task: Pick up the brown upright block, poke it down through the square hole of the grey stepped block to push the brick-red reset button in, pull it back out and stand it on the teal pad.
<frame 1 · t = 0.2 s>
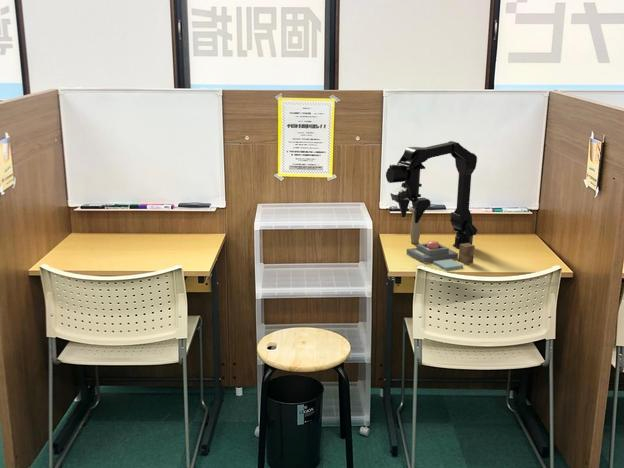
hand: (409, 220, 263), 14 cm above the table, tool pointing down, fingers open, 9 cm apart
button: (432, 246, 265), point 4 cm above the table, slide at 0.0 cm
grey stepped block: (431, 256, 266), on the table
brown upright block: (465, 262, 260), on the table
pad: (447, 265, 256), on the table
handle: (414, 243, 282), on the table
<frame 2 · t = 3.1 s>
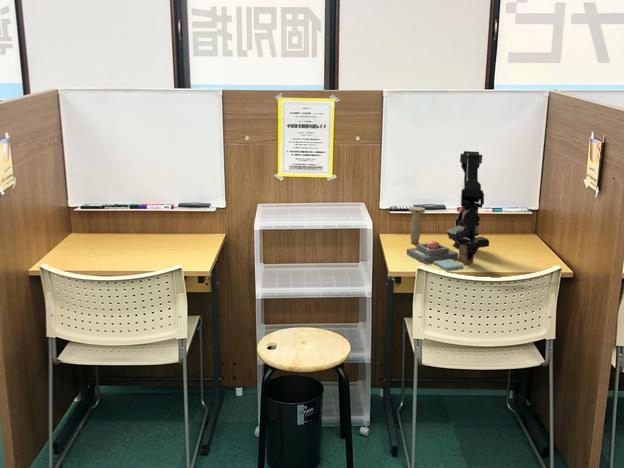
hand: (465, 258, 260), 2 cm above the table, tool pointing down, fingers closed on brown upright block, 4 cm apart
brown upright block: (465, 262, 260), on the table, touching gripper
everything else where it was.
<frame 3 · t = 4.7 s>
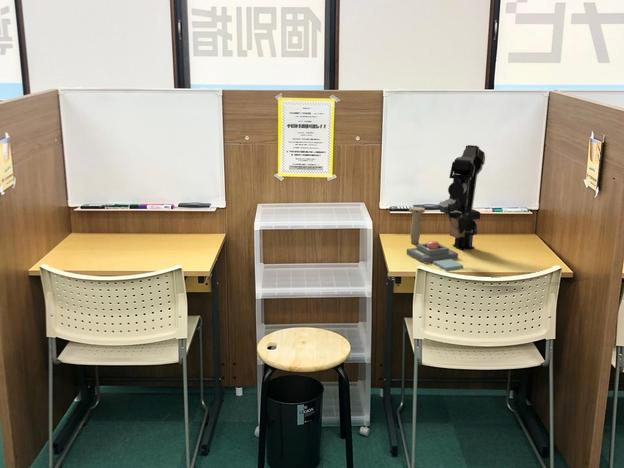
hand: (457, 232, 259), 11 cm above the table, tool pointing down, fingers closed on brown upright block, 4 cm apart
brown upright block: (456, 235, 259), point 10 cm above the table, touching gripper
everything else where it was.
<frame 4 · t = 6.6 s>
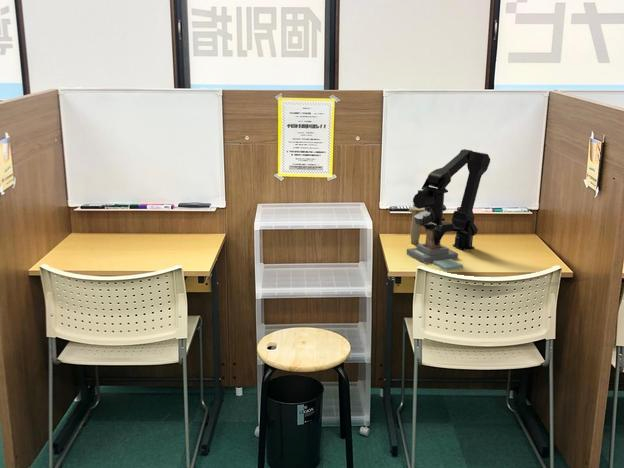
hand: (433, 243, 265), 5 cm above the table, tool pointing down, fingers closed on brown upright block, 4 cm apart
button: (432, 251, 266), point 2 cm above the table, slide at -1.9 cm, touching brown upright block
brown upright block: (432, 247, 265), point 4 cm above the table, touching button, gripper
everything else where it was.
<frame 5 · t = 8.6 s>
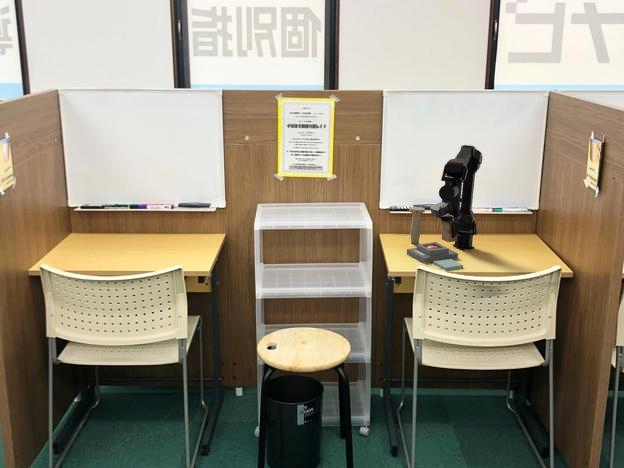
hand: (449, 236, 252), 12 cm above the table, tool pointing down, fingers closed on brown upright block, 4 cm apart
button: (432, 251, 266), point 2 cm above the table, slide at -1.9 cm
brown upright block: (449, 240, 253), point 10 cm above the table, touching gripper
everything else where it was.
when the fingers open (4 cm above the table, at t = 10.3 s): brown upright block drops 1 cm, resting on pad.
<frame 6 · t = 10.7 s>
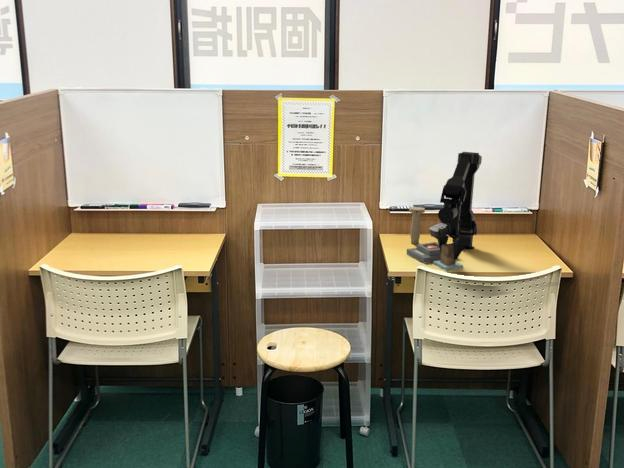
hand: (448, 256, 255), 4 cm above the table, tool pointing down, fingers open, 8 cm apart
brown upright block: (447, 263, 255), point 1 cm above the table, touching pad
everything else where it was.
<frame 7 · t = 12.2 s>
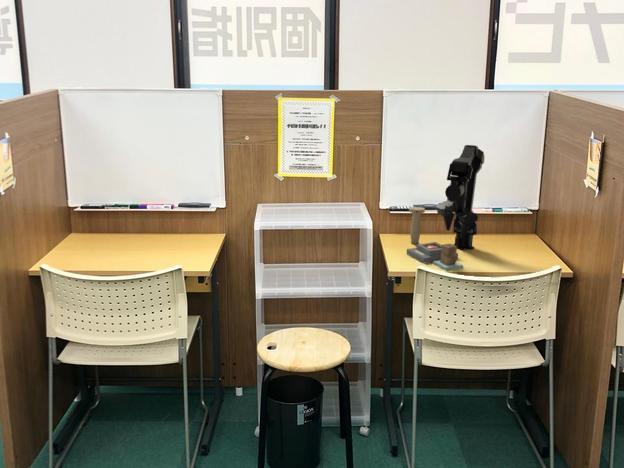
hand: (455, 233, 257), 11 cm above the table, tool pointing down, fingers open, 9 cm apart
nothing on the table moved.
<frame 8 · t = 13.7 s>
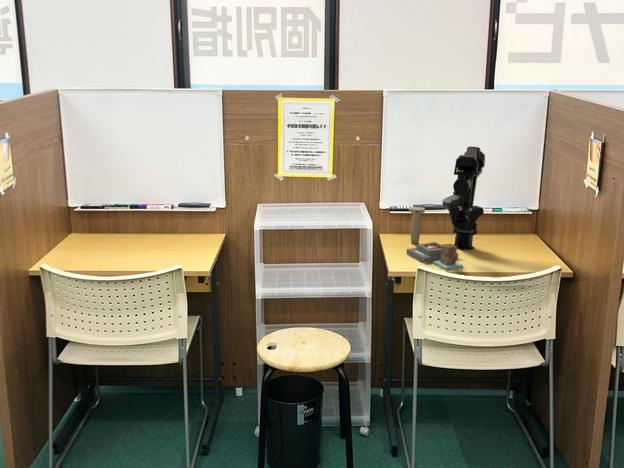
hand: (460, 227, 262), 12 cm above the table, tool pointing down, fingers open, 9 cm apart
nothing on the table moved.
at the end: button slide at -1.9 cm; brown upright block 0.1 cm off-centre on the pad, point 1.0 cm above the pad's base; brown upright block tilted 0° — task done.
